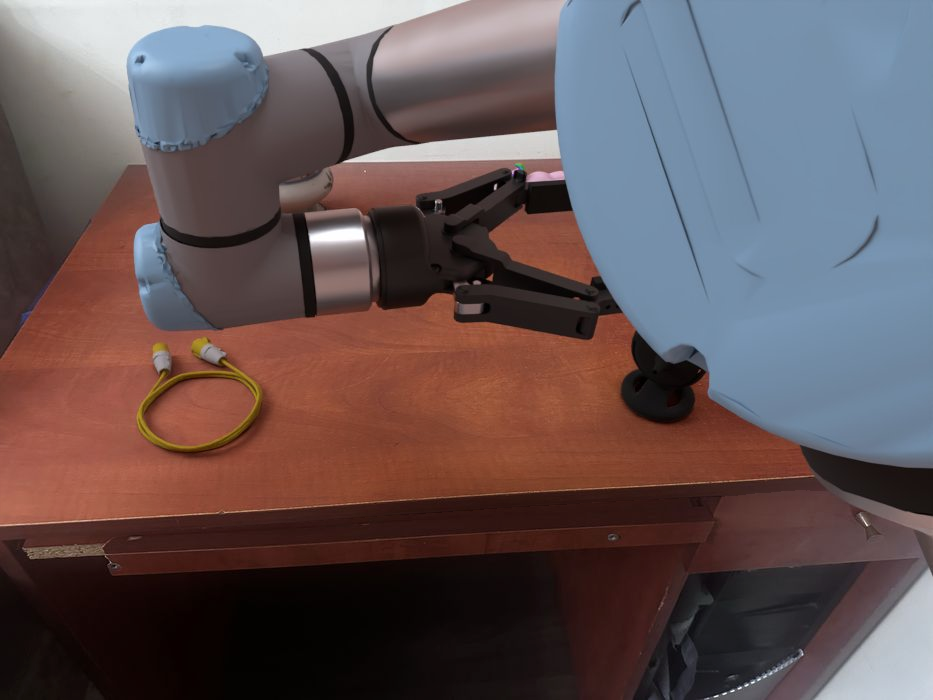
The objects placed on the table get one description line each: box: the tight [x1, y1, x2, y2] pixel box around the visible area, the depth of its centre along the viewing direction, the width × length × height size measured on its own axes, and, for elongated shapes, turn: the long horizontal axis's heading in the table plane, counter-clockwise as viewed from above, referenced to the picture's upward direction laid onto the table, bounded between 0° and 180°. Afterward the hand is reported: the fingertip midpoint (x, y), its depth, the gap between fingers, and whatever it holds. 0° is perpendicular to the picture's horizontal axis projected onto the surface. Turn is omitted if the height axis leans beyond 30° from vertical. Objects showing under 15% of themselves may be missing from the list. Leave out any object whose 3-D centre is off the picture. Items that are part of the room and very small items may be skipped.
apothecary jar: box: [279, 167, 334, 214], centre depth 93 cm, size 12×12×18 cm
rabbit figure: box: [494, 162, 565, 190], centre depth 104 cm, size 6×6×15 cm
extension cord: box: [136, 336, 264, 453], centre depth 70 cm, size 12×16×2 cm
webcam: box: [620, 329, 707, 423], centre depth 70 cm, size 8×8×10 cm
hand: (632, 235), depth 57 cm, fingers open, 13 cm apart
